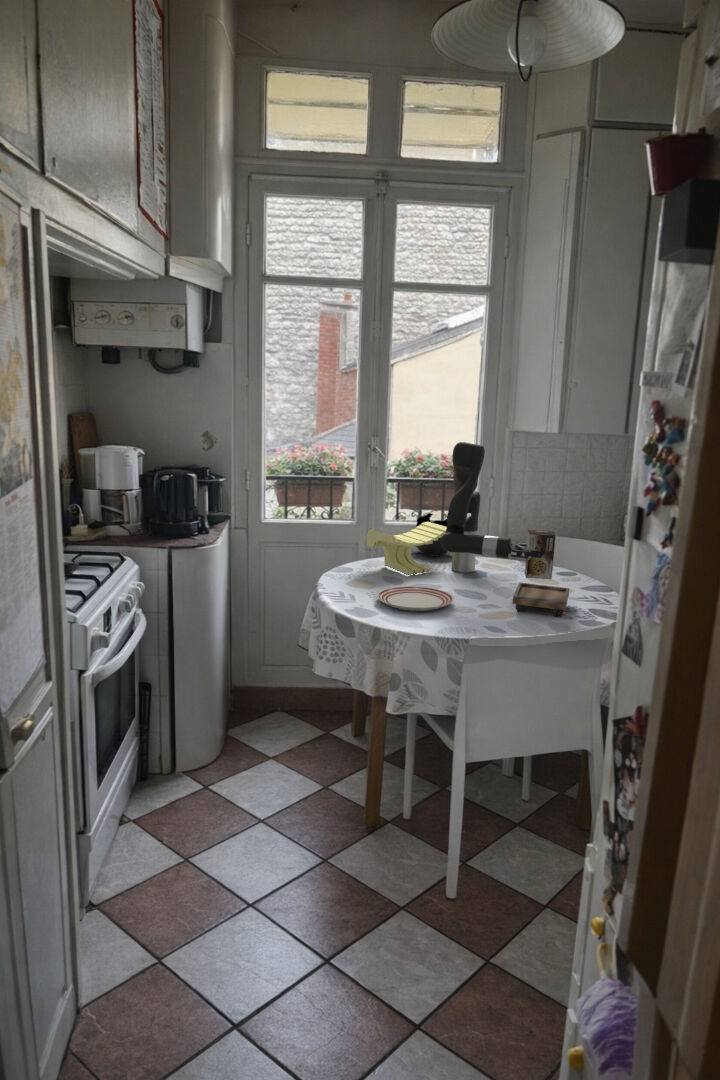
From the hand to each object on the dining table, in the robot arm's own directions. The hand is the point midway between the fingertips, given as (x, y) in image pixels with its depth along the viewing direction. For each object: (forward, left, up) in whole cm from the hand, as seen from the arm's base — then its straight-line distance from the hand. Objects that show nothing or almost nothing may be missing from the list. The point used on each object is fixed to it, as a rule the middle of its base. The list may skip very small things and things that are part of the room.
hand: (543, 552), depth 280 cm
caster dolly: (+1, 0, -21) cm, 21 cm away
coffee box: (-1, 0, -9) cm, 9 cm away
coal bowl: (-51, +57, -21) cm, 80 cm away
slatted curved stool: (-56, +29, -21) cm, 67 cm away
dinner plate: (-42, -13, -21) cm, 49 cm away
